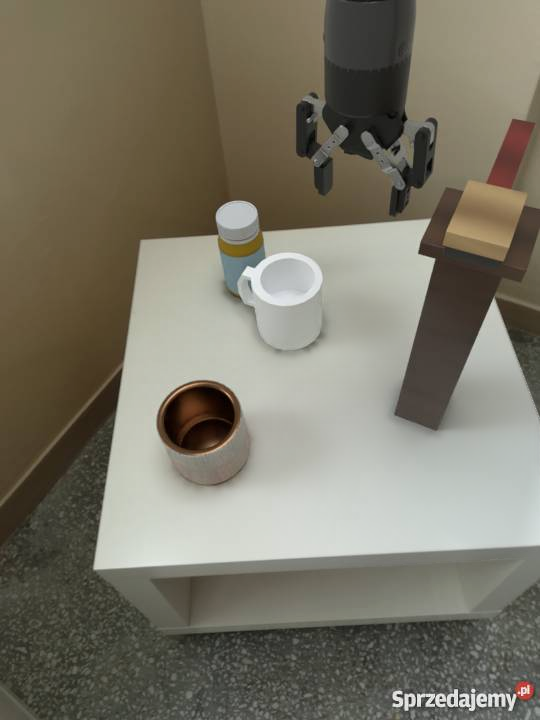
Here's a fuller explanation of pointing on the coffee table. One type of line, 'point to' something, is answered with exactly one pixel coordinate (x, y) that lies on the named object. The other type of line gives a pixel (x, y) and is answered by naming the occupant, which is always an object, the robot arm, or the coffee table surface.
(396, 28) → the robot arm
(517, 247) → the stand
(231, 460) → the planter
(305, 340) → the mug
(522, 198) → the brush
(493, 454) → the coffee table surface
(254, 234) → the bottle
